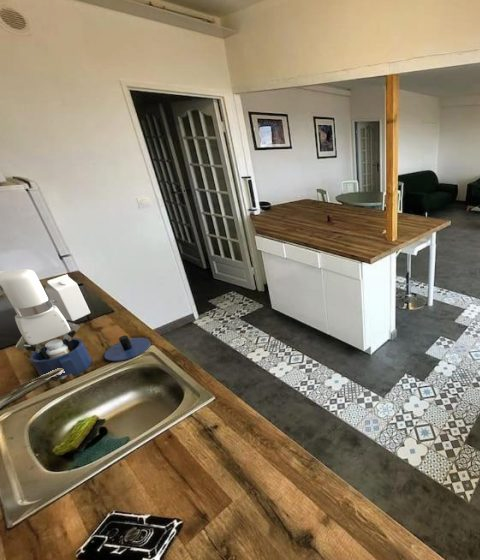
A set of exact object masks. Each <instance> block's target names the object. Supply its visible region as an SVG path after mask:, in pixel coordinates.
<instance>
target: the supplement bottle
mask: <svg viewBox="0 0 480 560" xmlns="http://www.w3.org/2000/svg"><path fill="white" fill-rule="evenodd" d="M62 340H63V339H62V338H61V339H60V338H58V339H57V338H55V339H51V340H49V341H47V342H46V343H45V344H44V346H45V347H46V349H47V350H46V354H47V356H48V358H49V359H52V358H56V357H59V356H62V355H64V354H67V353H69V352H70V349H69V347H68V346H67V345H66V344H63V341H62Z"/></svg>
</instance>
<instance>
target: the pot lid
mask: <svg viewBox="0 0 480 560" xmlns="http://www.w3.org/2000/svg"><path fill="white" fill-rule="evenodd" d="M118 340H119V342H117V343H116V344H114V345H112V346H111V347H109V348H108V349H107V350H106V351H105V352H104V356H103V357H104V358H105V359H104V360H106V361H109V362H122V361H126V360H128V359H132V358H135V357H137V356H139V355H141V354H142V353H145V352H146V351H147V350H148V349H149V348H150V347H151V340H150V339H148V338H146V337H133V338H129V336H128V335H121V336H120V337H118Z"/></svg>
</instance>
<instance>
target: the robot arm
mask: <svg viewBox="0 0 480 560" xmlns="http://www.w3.org/2000/svg"><path fill="white" fill-rule="evenodd" d="M4 294H5V296H6V298H7V299H8V301H9V303H10V304H11V306H12V308H13V309H14V311H15V313H16V315H15V316H14V320H15V323H16V326H17V328H18V330H19V332H20V335H21V337H20V338H19V340H18V341H17V342H16V344H15V349H16V350H22V351H29V352H34V351H36V352H38V354H39V355H40V357H41V359H44V358H45V359H46V360H48V359H49V358H48V356H47V354H46V353H45V351H44V349H43V348H41V347H42V343H44V342H49V341H52V340H54V339H57V338H60V337H63V339H65V340H64V341H65V342H66V344H67V346H68V347H69V349H70V351H72V350H73V347H75V346H74V344H73V342H72V338H74V336H75V335H76V334H77V332H78V331H79V329H80V328H81V326H80V324H77V323H75V322H72V321H69V320H65V318H64V316H63V315H62V313H61V312H60V311H59V309H58V308H57V307H56V306H55V305H53V304H54V303H56V302H57V300H56V299H55V298H54V299H50V298H49V296H48V294H47V292H46V290H45V288H44V287H43V285H42V283H41V281H40V279H39V276H38V275H37V273H36V272H35V271H34V270H32V269H30V268H29V269H28V268H17V269H11V270H0V296H2V295H4Z"/></svg>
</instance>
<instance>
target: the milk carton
mask: <svg viewBox="0 0 480 560" xmlns="http://www.w3.org/2000/svg"><path fill="white" fill-rule="evenodd" d="M46 282H47V284H46V286H45V288H44V290H45V292H46V294H47V296H48V298H49V299H54V298H55V299H56V300H57V302H56V303H54V304H53V305H55V306H56V307H57V308H58V309H59V311H60V312H61V313H62V315H63V316H64V318H65V320H66V321H68V322H75V321H76V320H79V319H81V318H84V317H85V316H88V315H90V314H91V311H90V308H89V307H88V304H87V302H86V300H85V297H84V296H83V293H82V291H81V289H80V287H79V285H78V283H77V282H76V281H75V280H73V279H72V278H71V277H70V276H69V275H68V273H67V274H63V275H60V276H58V277H54V278H51V279H49V280H46Z"/></svg>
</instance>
